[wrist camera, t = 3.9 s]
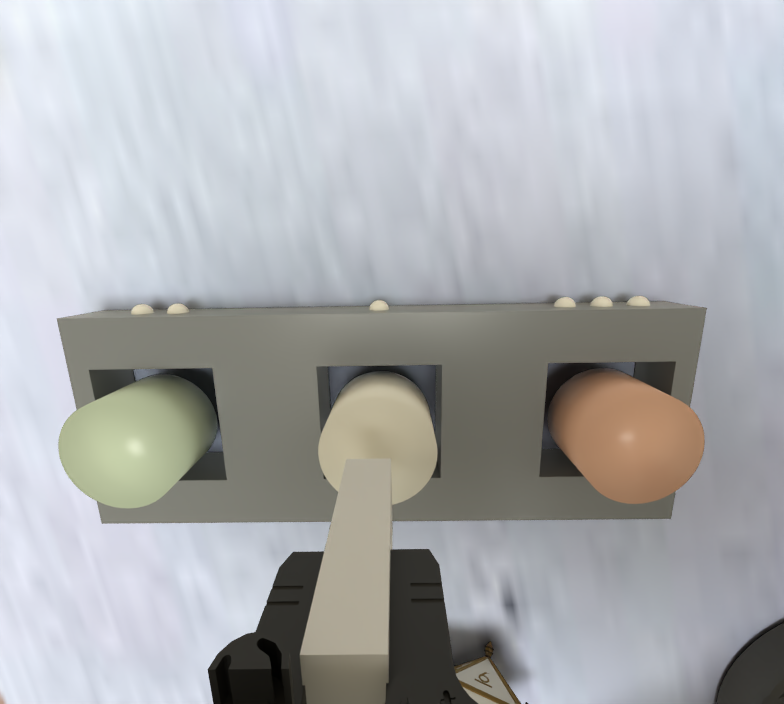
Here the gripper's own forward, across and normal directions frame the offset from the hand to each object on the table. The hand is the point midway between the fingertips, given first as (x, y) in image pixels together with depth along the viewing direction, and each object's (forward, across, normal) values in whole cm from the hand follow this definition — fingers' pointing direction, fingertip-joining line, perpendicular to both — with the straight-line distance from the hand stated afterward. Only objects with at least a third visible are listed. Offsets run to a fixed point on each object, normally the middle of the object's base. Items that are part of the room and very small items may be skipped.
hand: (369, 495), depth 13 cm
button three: (+7, -11, 0) cm, 13 cm away
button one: (+7, 0, 0) cm, 7 cm away
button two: (+7, +11, 0) cm, 13 cm away
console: (+9, 0, 0) cm, 9 cm away
